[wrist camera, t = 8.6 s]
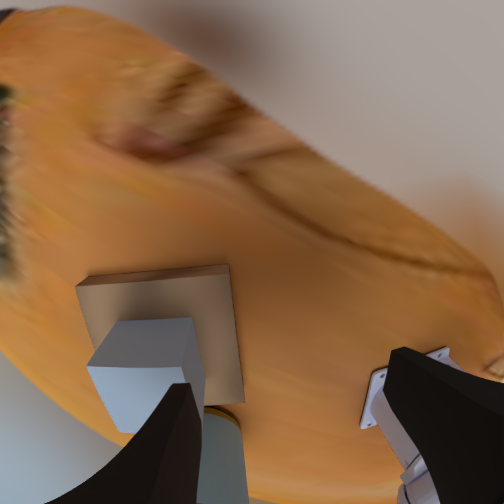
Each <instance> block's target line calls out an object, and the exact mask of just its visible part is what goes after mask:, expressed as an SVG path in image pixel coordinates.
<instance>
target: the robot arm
mask: <svg viewBox="0 0 504 504" xmlns="http://www.w3.org/2000/svg"><path fill="white" fill-rule="evenodd" d="M449 351H450V349H449V348H448V347H445V348H442V349H440V350H437V351H435V352H432V353H429V354H427V355H424V354H422V353H420V352H417V351H415V350H413V349H410V348H407V347H405V346H404V347H401V348H398V349H394V350H391V355H390V360H389V365H388V368H385V369H382V370H378V371H375V372H374V373H373V374H372V376H371V381H370V385H369V390H368V394H367V399H366V403H365V407H364V411H363V415H362V419H361V422H360V428H361V429H365V428H368V427H371V426H374V425H377V424H378V426H379V428H380V429H381V431H382V433H383V434H384V436H385V438H386V439H387V441H388V443H389V445H390V446H391V448H392V450H393V451H394V453H395V455H396V456H397V458H398V460H399V462H400V463H401V465H402V467H403V468H404V470H405V472H404V473H403V474H401V475H400V477H401V479H402V481H403V482H404V483H403V484H402V485H401V486H400V487H399V490H398V495H397V504H504V383H500V382H495V381H491V380H487V379H484V378H480V377H477V376H474V375H471V374H469V373H467V372H465V371H464V370H463V369H462V368H461V367H460V366H459V365H458V364H456V363H455V362H454V361H453V360H452V359H451V358H450V357H449V356H448V355H449ZM201 450H202V421H201V418H200V415H199V412H198V408H197V405H196V402H195V398H194V395H193V391H192V387H191V384H190V383H173V384H172V385H171V386H170V387H169V389H168V390H167V392H166V393H165V395H164V396H163V398H162V399H161V401H160V402H159V404H158V405H157V406H156V408H155V409H154V411H153V412H152V414H151V415H150V416H149V418H148V419H147V420H146V422H145V423H144V424H143V426H142V427H141V428H140V429H139V431H138V432H137V433H136V434H135V435H134V436H133V438H132V439H131V440H130V441H129V442H128V443H127V445H126V446H125V447H124V448H123V449H122V450H121V451H120V452H119V453H118V454H117V455H116V456H115V457H114V458H113V459H112V460H111V461H110V462H109V463H108V464H106V466H104V467H103V468H102V469H101V470H99V471H98V472H97V473H96V474H94V475H93V476H92V477H90V478H89V479H88V480H86V481H85V482H83V483H82V484H80V485H79V486H77V487H76V488H74V489H72V490H71V491H69V492H67V493H65V494H64V495H62V496H60V497H58V498H56V499H54V500H52V501H50V502H47V503H45V504H196V502H197V488H198V479H199V469H200V460H201Z"/></svg>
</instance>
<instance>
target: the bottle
mask: <svg viewBox="0 0 504 504" xmlns="http://www.w3.org/2000/svg"><path fill="white" fill-rule="evenodd" d="M196 504H249V497H248V488H247V479H246V469H245V460H244V450H243V439H242V433H241V427H240V425H239V424H238V423H237V422H236V420H235V419H233V418H232V417H230V416H229V415H227V414H226V413H224V412H222V411H219V410H217V409H214V408H210V407H204V412H203V429H202V450H201V460H200V469H199V479H198V488H197V502H196Z"/></svg>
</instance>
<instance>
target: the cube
mask: <svg viewBox="0 0 504 504" xmlns="http://www.w3.org/2000/svg"><path fill="white" fill-rule="evenodd" d="M86 367H87V369H88V372H89V374H90V376H91V378H92V381H93V383H94V385H95V387H96V389H97V391H98V393H99V395H100V397H101V399H102V401H103V403H104V405H105V407H106V409H107V411H108V413H109V414H110V416H111V418H112V420H113V422H114V423H115V425H116V427H117V429H118V430H119V432H126V433H137V432H138V431H139V429H140V428H141V427H142V426H143V424H144V423H145V422H146V420H147V419H148V418H149V416H150V415H151V414H152V412H153V411H154V409H155V408H156V406H157V405H158V404H159V402H160V401H161V399H162V398H163V396H164V395H165V393H166V392H167V390H168V389H169V387H170V386H171V385H172V384H173V383H190V384H191V387H192V391H193V395H194V398H195V402H196V405H197V408H198V412H199V415H200V418H201V421H202V429H203V412H204V396H205V381H206V380H205V376H204V372H203V367H202V363H201V358H200V354H199V349H198V344H197V339H196V334H195V329H194V324H193V319H192V317H185V318H170V319H154V320H135V321H117V322H116V323H115V325H114V326H113V327H112V329H111V330H110V332H109V333H108V334H107V336H106V337H105V339H104V340H103V342H102V343H101V345H100V346H99V347H98V349H97V350H96V352H95V353H94V355H93V356H92V358H91V359H90V361H89V362H88V364H87V365H86Z"/></svg>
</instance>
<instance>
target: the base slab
mask: <svg viewBox="0 0 504 504" xmlns="http://www.w3.org/2000/svg"><path fill="white" fill-rule="evenodd" d="M75 289H76V293H77V296H78V300H79V303H80V307H81V310H82V314H83V317H84V320H85V323H86V326H87V329H88V332H89V335H90V338H91V341H92V344H93V346H94V349H95V352H96V350H97V349H98V347H99V346H100V345H101V343H102V342H103V340H104V339H105V337H106V336H107V334H108V333H109V332H110V330H111V329H112V327H113V326H114V325H115V323H116V322H117V321H135V320H154V319H170V318H185V317H192V319H193V324H194V329H195V334H196V339H197V344H198V349H199V354H200V358H201V363H202V367H203V372H204V376H205V380H206V381H205V396H204V406H207V405H223V404H235V403H245V396H244V387H243V379H242V372H241V364H240V357H239V349H238V341H237V333H236V325H235V316H234V308H233V299H232V290H231V281H230V272H229V264H221V265H211V266H200V267H190V268H179V269H169V270H158V271H147V272H136V273H125V274H114V275H103V276H91V277H87V278H86V279H84V280H83V281H82V282H80V283H79V284H78V285H76V286H75Z"/></svg>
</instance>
